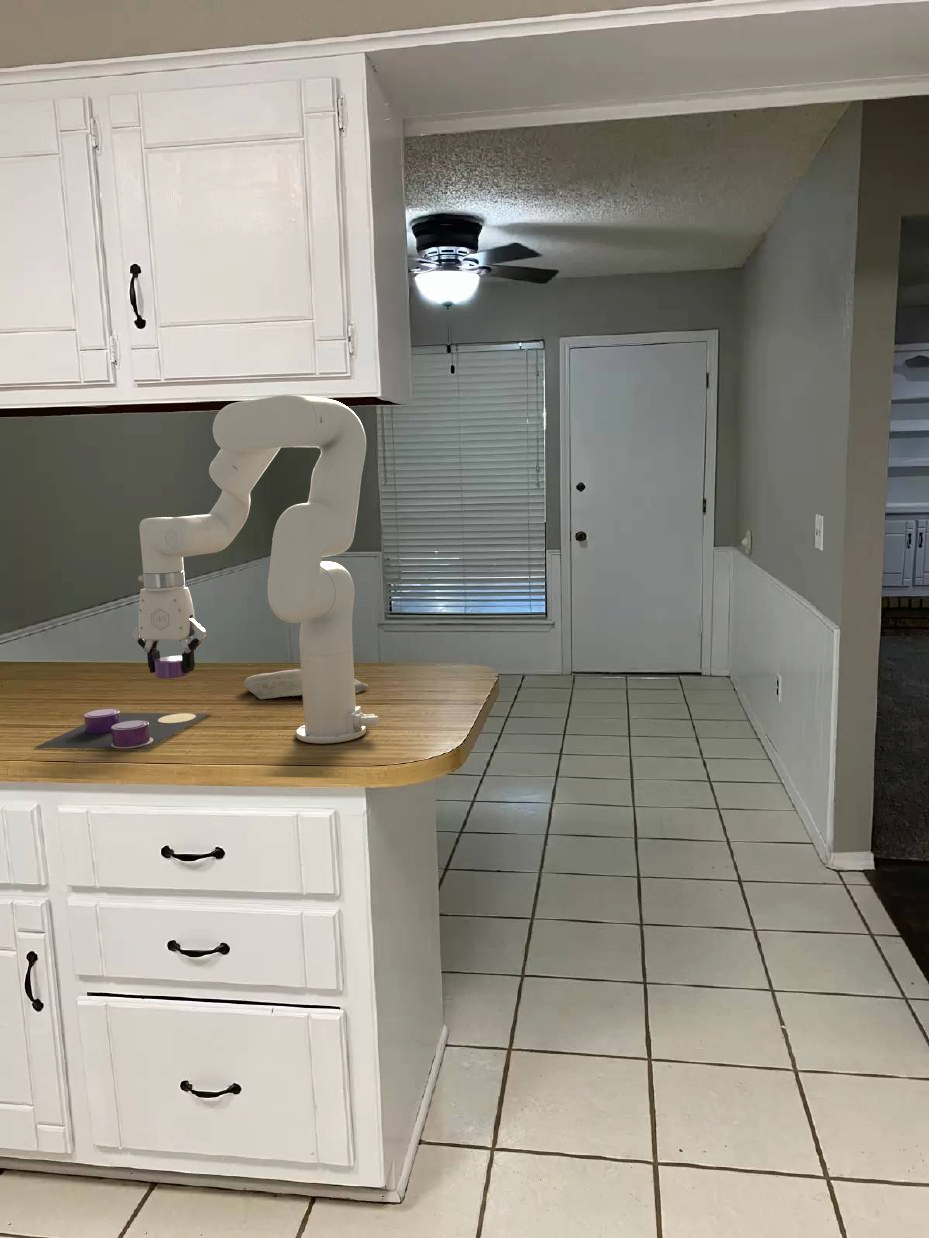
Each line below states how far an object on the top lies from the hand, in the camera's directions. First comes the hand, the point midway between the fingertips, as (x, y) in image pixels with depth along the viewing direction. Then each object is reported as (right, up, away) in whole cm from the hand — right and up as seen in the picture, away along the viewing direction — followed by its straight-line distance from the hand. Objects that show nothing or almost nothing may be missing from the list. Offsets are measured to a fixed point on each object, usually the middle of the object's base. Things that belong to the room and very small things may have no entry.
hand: (172, 670), depth 178 cm
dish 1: (-12, -11, -4) cm, 17 cm away
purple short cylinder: (-3, -12, -15) cm, 19 cm away
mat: (-7, -11, -5) cm, 14 cm away
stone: (+22, -6, +21) cm, 31 cm away
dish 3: (0, -1, 0) cm, 1 cm away
